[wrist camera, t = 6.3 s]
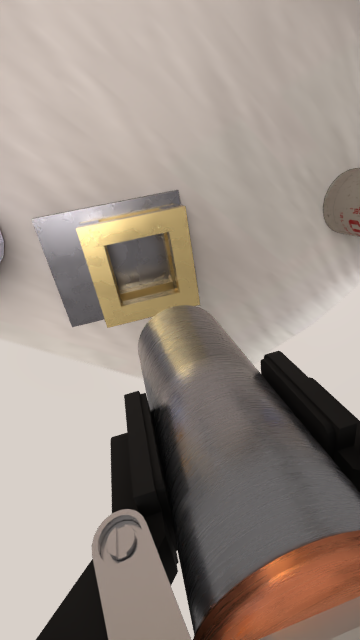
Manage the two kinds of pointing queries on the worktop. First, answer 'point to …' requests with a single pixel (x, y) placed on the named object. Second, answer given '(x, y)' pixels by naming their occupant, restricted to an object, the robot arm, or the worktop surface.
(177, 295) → the tan frame fixture
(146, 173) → the worktop surface
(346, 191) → the thermos bottle
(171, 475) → the tube
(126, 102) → the worktop surface
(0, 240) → the soap bottle
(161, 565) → the robot arm
